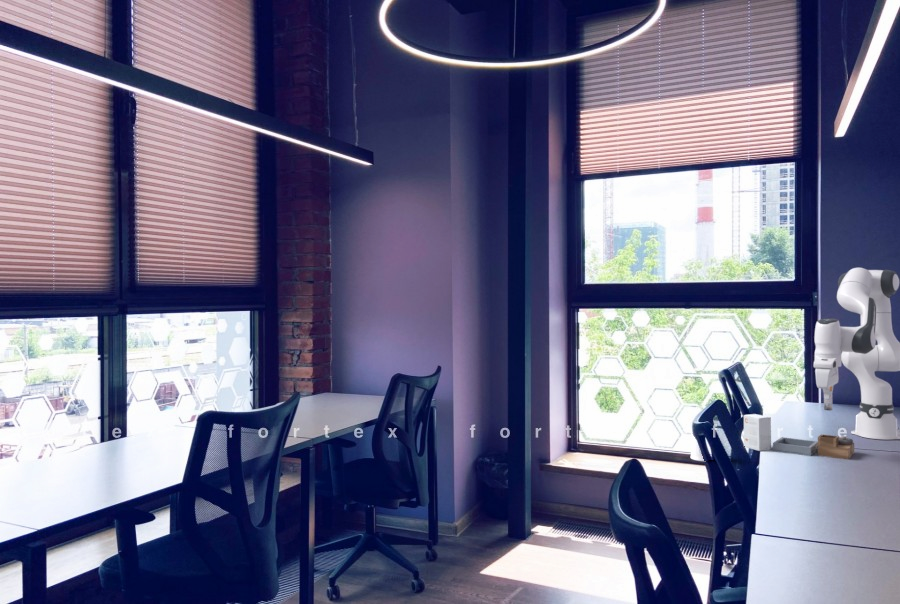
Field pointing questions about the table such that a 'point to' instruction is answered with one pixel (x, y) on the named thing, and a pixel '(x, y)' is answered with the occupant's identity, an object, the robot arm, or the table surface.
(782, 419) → the table surface
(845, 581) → the table surface
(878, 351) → the robot arm
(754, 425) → the small box
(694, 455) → the mug
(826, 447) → the wooden holder block
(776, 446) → the tray
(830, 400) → the lock pin
